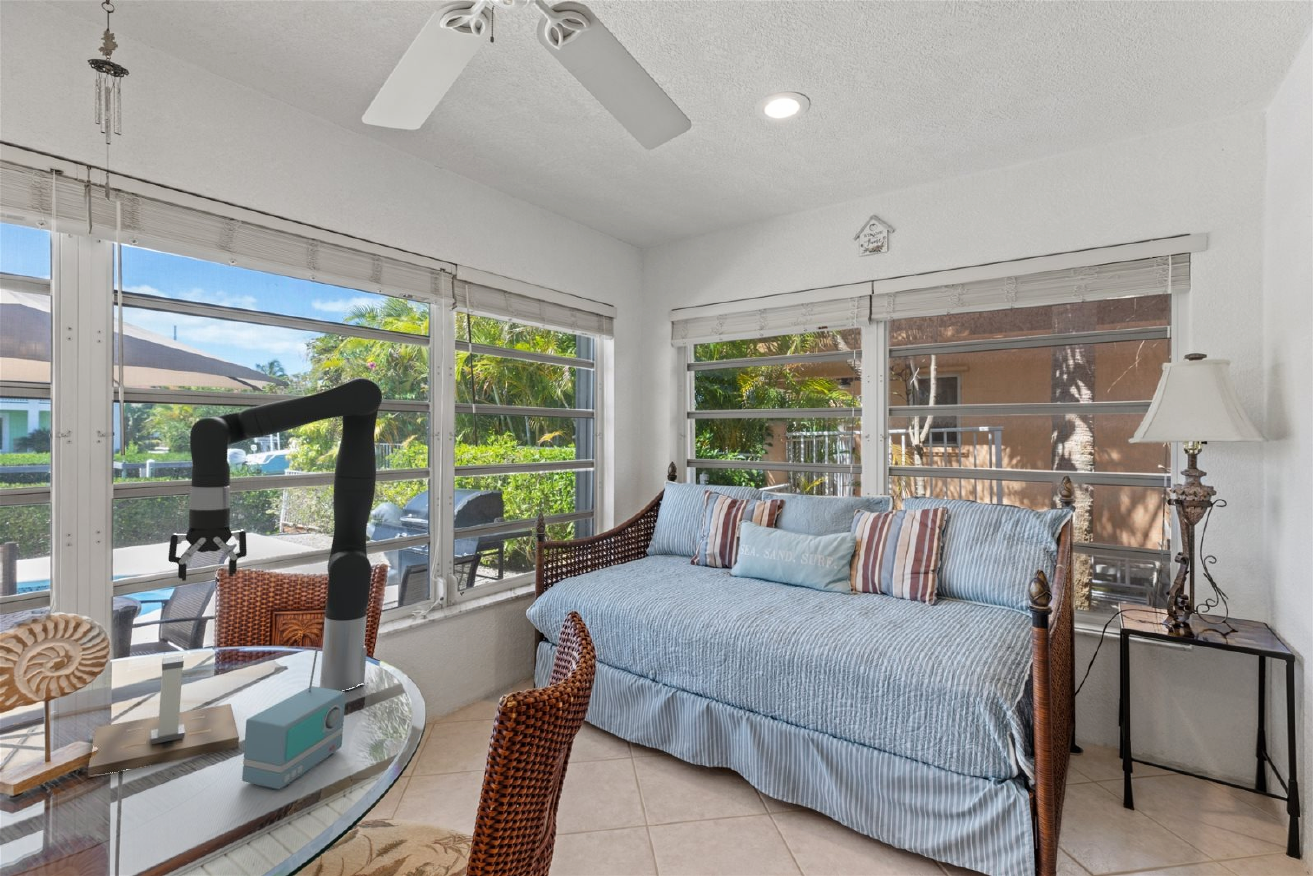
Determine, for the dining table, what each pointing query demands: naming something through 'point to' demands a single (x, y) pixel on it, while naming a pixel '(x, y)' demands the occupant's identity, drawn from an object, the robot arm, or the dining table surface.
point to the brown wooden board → (134, 748)
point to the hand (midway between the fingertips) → (207, 578)
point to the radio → (293, 736)
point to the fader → (169, 702)
